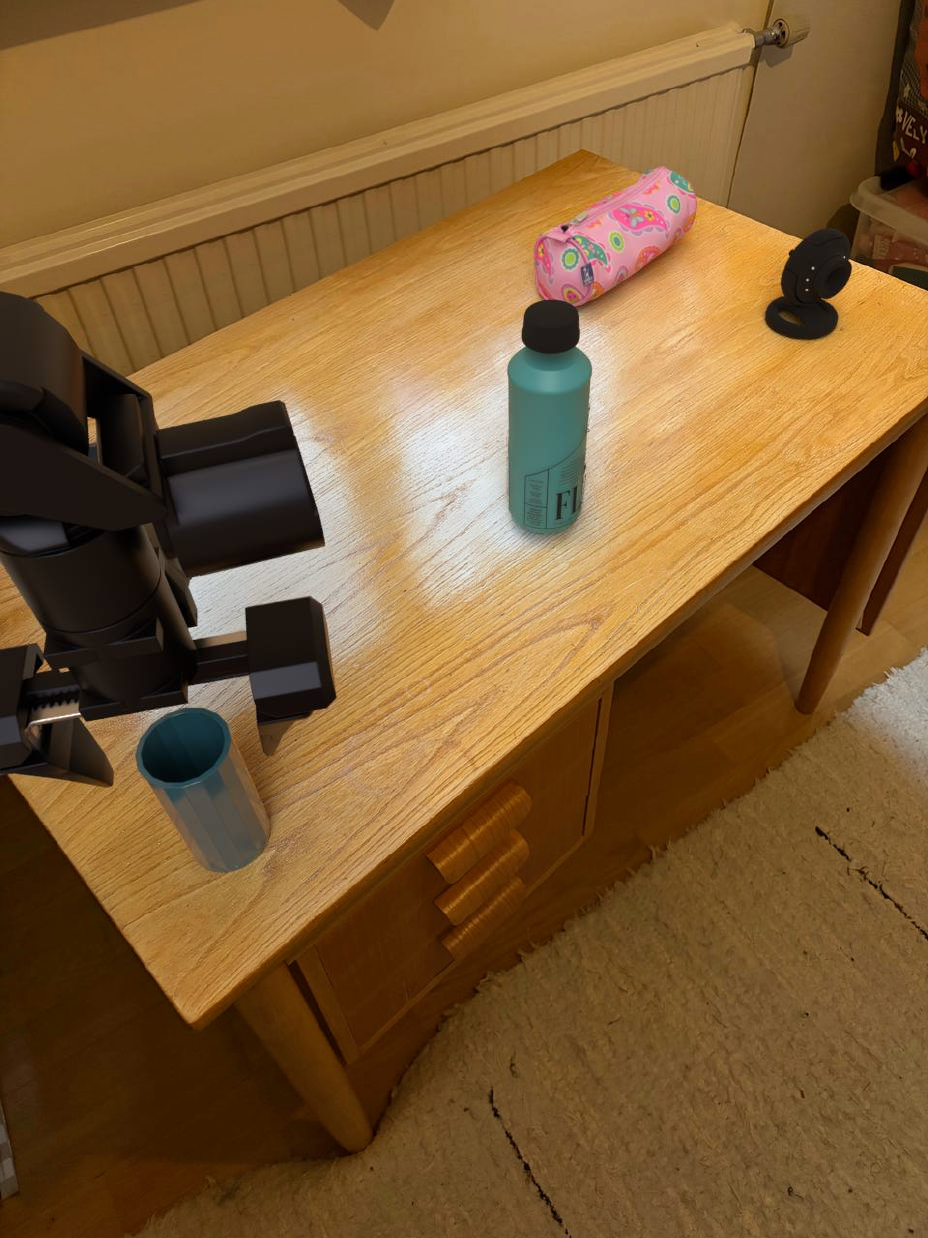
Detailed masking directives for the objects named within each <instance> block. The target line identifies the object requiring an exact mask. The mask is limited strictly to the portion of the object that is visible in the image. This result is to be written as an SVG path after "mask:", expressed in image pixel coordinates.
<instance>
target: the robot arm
mask: <svg viewBox="0 0 928 1238" xmlns="http://www.w3.org/2000/svg"><path fill="white" fill-rule="evenodd" d="M154 407H155V406H154V400H153V396H152V394H151V392H149V391H147V390H145V389H144V388H143V387H141V386H139V385H138V384H136V383H134V381H132V380H130V379H129V378H127V377H125V376H124V375H122V374H121V373H119V372H118V371H116V370H115V369H113V368H111V367H110V366H108V365H107V364H105V363H103V362H102V361H100V360H99V359H98V358H95V357H94V356H92V355H91V354H89V353H88V352H86V351H85V350H83V349H82V348H80V347H79V345H78V344H77V342H76V341H75V339H74V338H73V336H72V335H71V333H70V331H69V330H68V328H66V327H65V326H64V325H63V324H62V323H61V322H59V321H58V319H55V318H54V317H53V316H52V315H51V314H49V313H48V312H47V311H46V310H45V308H44V306H43V305H42V304H40V303H39V302H37V301H35V300H33V299H30V298H27V297H25V296H23V295H20V294H16V293H13V292H6V291H2V290H0V563H1V565H2V566H3V569H5V571H6V573H7V574H8V576H9V578H10V579H11V581H12V583H13V584H14V586H15V587H16V589H17V591H18V592H19V594H20V595H21V597H22V599H23V600H24V602H25V603H26V605H27V607H28V608H29V609H30V611H31V613H32V614H33V616H34V617H35V619H36V620H37V622H38V623H39V625H40V627H41V628H42V630H43V632H44V633H45V639H44V645H43V649H42V648H41V647H40V645H39V644H38V642H32V643H26V644H21V645H14V646H8V647H2V648H0V776H6V775H21V776H30V777H38V778H47V779H53V780H54V779H56V780H61V781H67V782H68V781H69V782H71V783H72V782H74V783H78V784H84V785H88V786H95V787H101V788H106V789H107V788H112V787H113V786H114V781H115V780H114V779H115V771H114V768H113V767H112V764H111V762H110V760H109V758H108V756H107V754H106V753H105V751H104V750H103V748H102V747H101V746H100V745H99V743H98V742H97V740H96V739H95V738H94V736H93V735H92V734H91V732H90V730H89V729H88V727H86V724H84V722H83V721H82V719H83V720H84V721H85V723H88V722H94V721H99V720H104V719H111V718H115V717H122V716H127V715H132V714H139V713H143V712H149V711H154V710H159V709H165V708H170V707H177V706H182V705H187V704H189V687H192V686H197V685H203V684H209V683H214V682H220V681H225V680H231V679H236V678H237V679H238V678H243V677H248V679H249V686H250V689H251V695H252V700H253V703H254V706H255V717H256V719H255V720H256V727H257V732H258V736H259V740H260V747H261V751H262V753H263V754H264V755H265V756H266V757H267V758H271V757H274V756H275V755H276V752H277V750H278V747H279V745H280V742H281V741H282V738H283V737H284V735H285V734H286V733H287V732H288V731H289V730H290V728H291V727H292V726H293V725H294V724H295V723H296V722H298V721H303V720H307V719H308V718H310V717H311V716H312V715H313V713H314V711H321V710H326V709H328V708H329V707H330V706H331V705H332V704H333V702H334V701H335V700H336V699H338V698H337V697H338V695H337V689H336V682H335V681H336V680H335V673H334V666H333V658H332V649H331V643H330V636H329V635H330V634H329V627H328V622H327V617H326V614H325V613H326V612H325V610H324V606H323V604H322V603H321V602H320V601H319V600H317V598H314V597H313V596H312V595H307V596H301V597H295V598H289V599H283V600H278V601H272V602H266V603H260V604H254V605H249V606H246V607H244V616H245V617H244V618H245V619H244V620H245V630H242V631H236V632H231V633H224V634H219V635H214V636H207V637H200V638H195V639H193V637H192V634H191V633H190V629H192V628H197V627H198V626H199V622H198V621H199V620H198V619H199V614H198V613H199V612H198V611H199V609H198V606H197V604H196V602H195V600H194V597H193V595H192V592H191V589H190V587H189V586H190V582H191V580H192V579H193V578H198V577H204V576H209V575H212V574H216V573H221V572H225V571H229V570H233V569H237V568H241V567H246V566H250V565H254V564H259V563H263V562H267V561H270V560H274V559H279V558H283V557H287V556H291V555H296V554H299V553H303V552H304V553H305V552H307V551H312V550H316V549H320V548H324V547H326V540H325V534H324V529H323V525H322V521H321V516H320V512H319V508H318V506H317V502H316V499H315V495H314V492H313V489H312V485H311V483H310V479H309V476H308V471H307V469H306V466H305V462H304V460H303V456H302V452H301V449H300V447H299V443H298V439H297V437H296V435H295V433H294V428H293V424H292V421H291V418H290V415H289V412H288V409H287V406H286V402H284V401H282V400H280V399H277V400H272V401H267V402H263V403H257V404H254V405H251V406H248V407H246V408H244V409H241V410H239V411H237V412H234V413H231V414H226V415H220V416H216V417H211V418H207V419H202V420H197V421H192V422H187V423H183V424H179V425H174V426H169V427H164V428H160V427H159V424H158V421H157V419H156V414H155V408H154ZM88 418H89V419H93V420H94V421H95V422H94V423H95V436H96V437H95V439H96V442H97V454H98V462H96V461H94V460H93V459H91V458H89V457H88V453H89V444H90V435H89V419H88ZM150 523H152V524H150ZM145 524H147V525H145ZM44 662H46V663H47V665H48V666H49V668H50V670H45V671H43V670H42V671H39V670H40V669H41V668H42V666H43V665H44V664H45V663H44ZM63 669H68V670H66V671H61V670H63ZM81 718H82V719H81Z"/></svg>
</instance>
